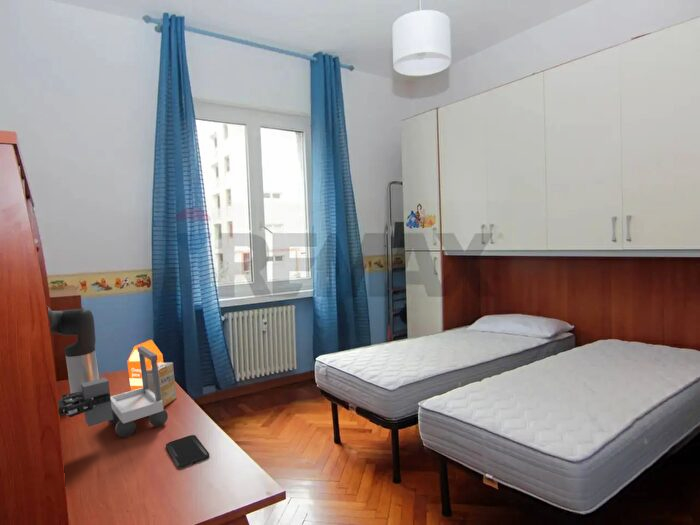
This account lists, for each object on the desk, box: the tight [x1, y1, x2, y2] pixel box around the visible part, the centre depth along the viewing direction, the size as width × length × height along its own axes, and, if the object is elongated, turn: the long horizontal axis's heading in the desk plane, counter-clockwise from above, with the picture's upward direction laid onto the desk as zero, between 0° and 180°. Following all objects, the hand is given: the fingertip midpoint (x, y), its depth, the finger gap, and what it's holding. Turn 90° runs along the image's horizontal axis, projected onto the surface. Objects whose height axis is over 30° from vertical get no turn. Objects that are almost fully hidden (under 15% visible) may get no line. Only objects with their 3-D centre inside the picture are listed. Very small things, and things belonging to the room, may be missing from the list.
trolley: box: [108, 346, 169, 439], centre depth 132 cm, size 18×14×22 cm
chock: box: [81, 377, 113, 427], centre depth 120 cm, size 4×6×11 cm
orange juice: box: [127, 339, 164, 391], centre depth 154 cm, size 8×9×20 cm
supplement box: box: [147, 362, 177, 408], centre depth 148 cm, size 8×5×13 cm, turn 168°
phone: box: [165, 434, 210, 469], centre depth 113 cm, size 8×1×15 cm
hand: (107, 394), depth 122 cm, fingers closed on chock, 4 cm apart
